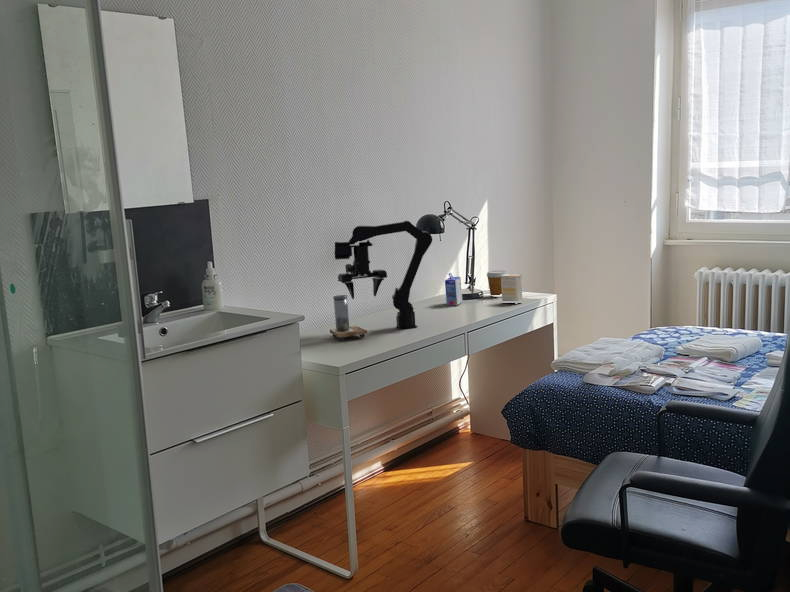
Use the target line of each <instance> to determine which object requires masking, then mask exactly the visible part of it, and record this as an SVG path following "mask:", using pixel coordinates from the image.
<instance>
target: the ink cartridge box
mask: <svg viewBox="0 0 790 592" xmlns="http://www.w3.org/2000/svg"><path fill="white" fill-rule="evenodd" d="M448 276H449V277H448V278H447V279H445V280H444V287H445V288H444V289H445V301H446V306H447V305H458V304H459V305H460V303H461V302H462V303H463V291H462V290H463V289H462V278H461V276H453V274H452V272H449V273H448ZM462 303H461V304H462ZM459 305H458V306H459Z"/></svg>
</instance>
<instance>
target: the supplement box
mask: <svg viewBox="0 0 790 592" xmlns="http://www.w3.org/2000/svg"><path fill="white" fill-rule="evenodd" d="M522 282H523V281H522V274H515V273H513V274H511V273H506V274H504V275H501V289H502V297H501V301H519V300H521V299H522V300H523V288H522V287H523V286H522Z"/></svg>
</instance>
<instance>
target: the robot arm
mask: <svg viewBox="0 0 790 592" xmlns="http://www.w3.org/2000/svg"><path fill="white" fill-rule="evenodd" d="M402 232H406V233H408V234H409V235H410V236H412V237H413V238H414V239H415V243H414V244H415V245H414V250H413V253H412V257H411V260H410V262H409V265H408V267H407V269H406V273H405V275H404V278H403V279H402V283H401V284H400V285H399V287H395V288H394V293H393V294H392V295H391V298H392V305H393V307H394V308H395V309H396V310H398V312H396V320H395V321H396V325H395V326H396V328H398V329H401V330H407V328H408V329H412V328H414V327H415V328H418V326H417V325H416V315H415V313H416V312H415V311H414V306H413V304H412V303H411V302H409V300H410V299H409V298H410V294H411V288H412V285H413V283H414V280H415V278H416V275H417V273H418V270H419V267H420V265H421V262H422V260H423V258H424V255H425V254H426V253H427V250H429V248H430V247H431V245H432V243H433V236H432V235H431V234H430V233H429V232H428V231H426V230H424V231H422V230H421V229H419V228H418V227H417V226H415V225H414V224H413V223H412V222H411V221H409V220H404V221H400V222H393V223H387V224H380V225H358V226H355V227H354V228H353V230H352V236H351V237H350V238H349V240H348V241H344V242H343V241H335V242H334V260H335V261H337V260H348V259H349V260H350V258H351V257H353V259H354V260H353V262H352V264H351V263H348V264H347V263H346V264H345V265H344V266H345V273H339V274H338V275H337V279H338V280H337V281H338V282H341V283H342V284H343V285H344V284H345V286H346V288H347V289H348V292H349V295H350V297H351V299H352V300H354V299H355V288H354V281H353V280H358V279H366V278H371V280H372V282H373V283H372V285H373V286H372V287H373V288H372V289H373V292H372V293H373V296H374V297H376V296H377V293H378V291H379V288H380V286H381V283H382V282H383V281H384V280H385V279H386V278H388V273H387V271H386V270H385V269H373V270H372V271H371V270H370V264H371V260H370V258H369V257H370V256H369V247H372V246H373V243H372V242H371V241H370V240H369V239H372V238H374V237H377V236H383V235H388V234H396V233H402ZM356 243H358V244H356Z"/></svg>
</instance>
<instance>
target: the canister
mask: <svg viewBox="0 0 790 592" xmlns="http://www.w3.org/2000/svg"><path fill="white" fill-rule="evenodd" d="M348 304H349V303H348V295H347V294H346V295H345V294H340V295H334V296H333V306H334V318H335V329H336V331H338V332H344V331H349V330H350V329H349V327H350V318H349V307H348Z"/></svg>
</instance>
